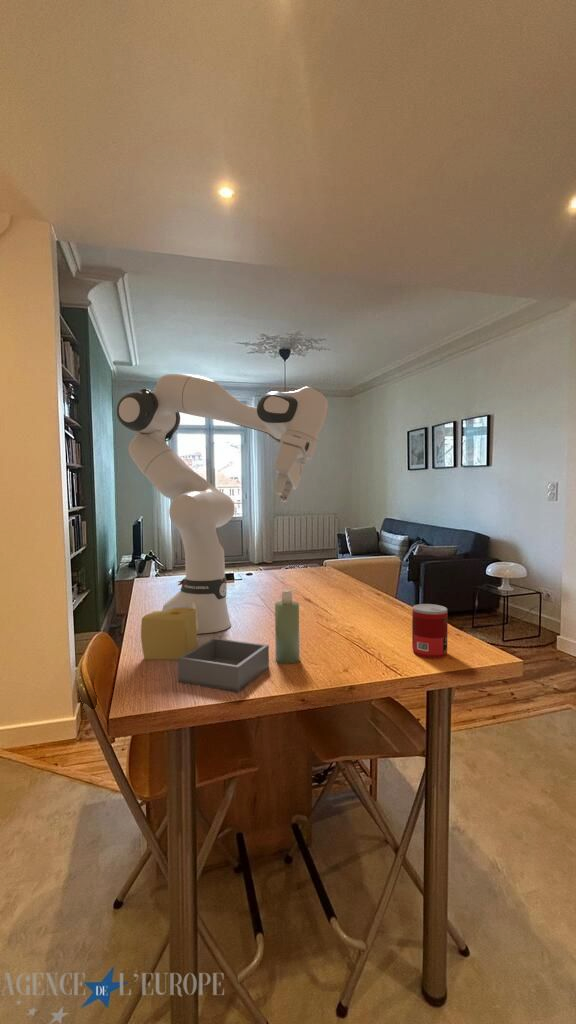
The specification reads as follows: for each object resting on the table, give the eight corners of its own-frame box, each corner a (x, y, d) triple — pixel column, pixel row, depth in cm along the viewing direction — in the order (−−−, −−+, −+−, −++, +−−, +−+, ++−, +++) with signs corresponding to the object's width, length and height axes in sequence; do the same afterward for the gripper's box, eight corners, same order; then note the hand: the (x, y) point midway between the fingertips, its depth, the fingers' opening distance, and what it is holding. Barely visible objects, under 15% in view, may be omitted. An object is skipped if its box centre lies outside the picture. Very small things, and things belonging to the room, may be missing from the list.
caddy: (178, 681, 97) (177, 657, 97) (214, 659, 110) (213, 637, 110) (238, 692, 92) (238, 667, 92) (268, 667, 105) (268, 645, 104)
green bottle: (271, 661, 108) (271, 592, 107) (281, 654, 113) (280, 587, 112) (294, 665, 106) (293, 594, 105) (302, 657, 111) (302, 589, 110)
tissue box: (158, 645, 120) (157, 606, 120) (199, 646, 119) (198, 607, 119) (140, 660, 110) (139, 617, 110) (185, 661, 109) (185, 618, 108)
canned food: (452, 658, 109) (452, 611, 108) (417, 659, 109) (417, 611, 108) (441, 647, 117) (441, 603, 116) (408, 648, 117) (408, 603, 116)
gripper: (290, 455, 134) (274, 501, 133) (281, 432, 114) (262, 485, 113) (311, 462, 133) (296, 508, 132) (305, 439, 113) (287, 493, 112)
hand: (280, 497), depth 122 cm, fingers open, 8 cm apart
